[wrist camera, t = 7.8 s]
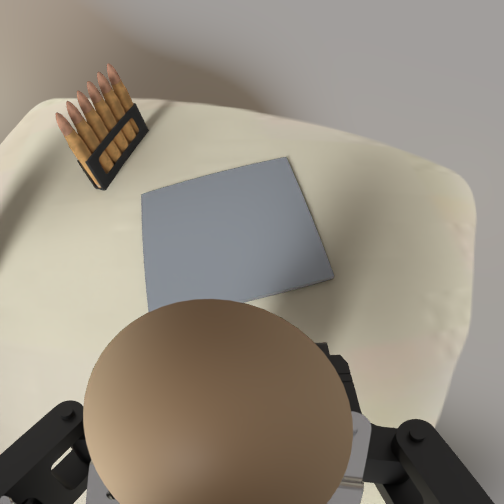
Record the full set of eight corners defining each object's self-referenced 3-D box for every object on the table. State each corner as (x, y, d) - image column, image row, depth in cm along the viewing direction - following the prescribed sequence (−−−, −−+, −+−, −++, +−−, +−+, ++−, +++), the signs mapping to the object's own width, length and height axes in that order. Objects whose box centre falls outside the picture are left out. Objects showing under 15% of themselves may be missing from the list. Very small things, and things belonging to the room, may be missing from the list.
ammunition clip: (105, 191, 32) (55, 119, 21) (95, 188, 32) (45, 119, 21) (149, 130, 36) (118, 58, 25) (138, 129, 36) (107, 60, 26)
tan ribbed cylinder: (217, 456, 14) (102, 562, 2) (195, 363, 17) (47, 297, 5) (318, 434, 14) (416, 524, 3) (293, 340, 17) (333, 226, 5)
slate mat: (152, 323, 24) (149, 321, 24) (143, 197, 31) (141, 194, 30) (333, 278, 25) (334, 276, 24) (286, 160, 31) (286, 156, 30)
